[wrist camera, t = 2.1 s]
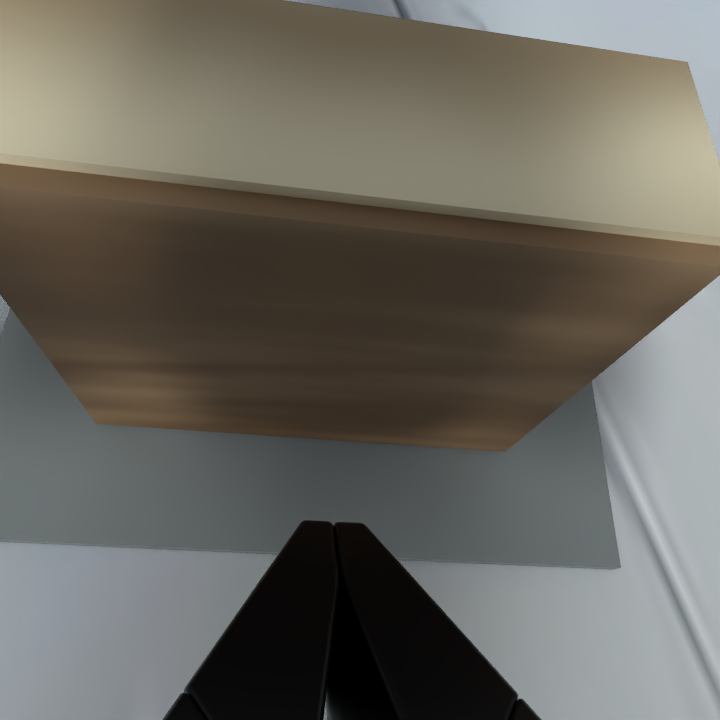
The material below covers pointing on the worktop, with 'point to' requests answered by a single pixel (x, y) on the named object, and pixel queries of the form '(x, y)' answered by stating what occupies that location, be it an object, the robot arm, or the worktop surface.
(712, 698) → the worktop surface
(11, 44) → the maple slab
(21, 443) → the rubber mat
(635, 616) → the worktop surface
